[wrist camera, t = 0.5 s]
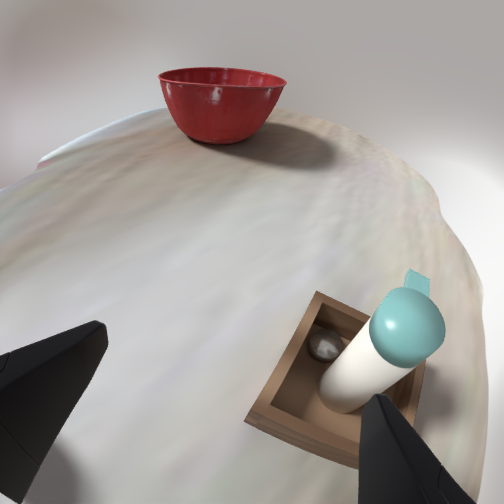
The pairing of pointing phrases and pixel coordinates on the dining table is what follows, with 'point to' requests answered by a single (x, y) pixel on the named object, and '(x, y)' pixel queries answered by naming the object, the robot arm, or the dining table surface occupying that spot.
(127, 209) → the dining table surface
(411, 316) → the canister
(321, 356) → the grey metal puck
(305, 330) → the brown wooden tray
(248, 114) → the mixing bowl
